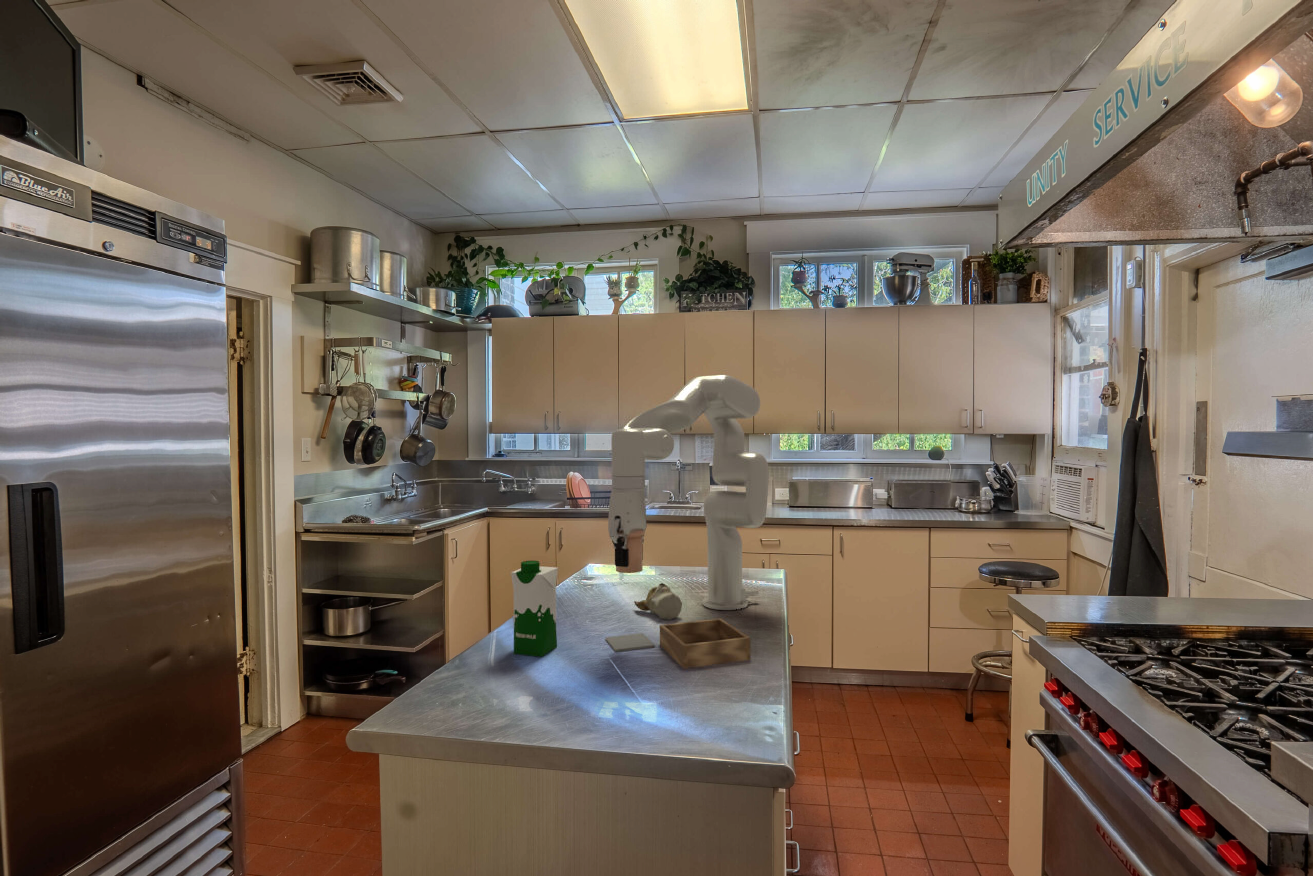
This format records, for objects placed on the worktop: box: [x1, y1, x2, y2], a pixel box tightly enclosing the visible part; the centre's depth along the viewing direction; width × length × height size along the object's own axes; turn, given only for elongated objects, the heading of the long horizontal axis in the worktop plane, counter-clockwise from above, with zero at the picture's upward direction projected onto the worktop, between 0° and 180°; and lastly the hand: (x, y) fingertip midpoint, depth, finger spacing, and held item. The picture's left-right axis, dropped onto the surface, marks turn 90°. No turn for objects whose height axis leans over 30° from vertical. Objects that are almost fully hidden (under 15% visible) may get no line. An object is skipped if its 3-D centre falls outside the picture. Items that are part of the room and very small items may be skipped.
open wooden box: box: [659, 618, 752, 669], centre depth 141 cm, size 15×15×5 cm
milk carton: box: [510, 560, 559, 658], centre depth 144 cm, size 9×9×20 cm
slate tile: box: [605, 632, 656, 653], centre depth 147 cm, size 9×9×1 cm
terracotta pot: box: [615, 529, 646, 574], centre depth 147 cm, size 7×7×9 cm
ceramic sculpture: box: [633, 582, 683, 621], centre depth 172 cm, size 11×9×15 cm
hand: (629, 562), depth 147 cm, fingers closed on terracotta pot, 6 cm apart
